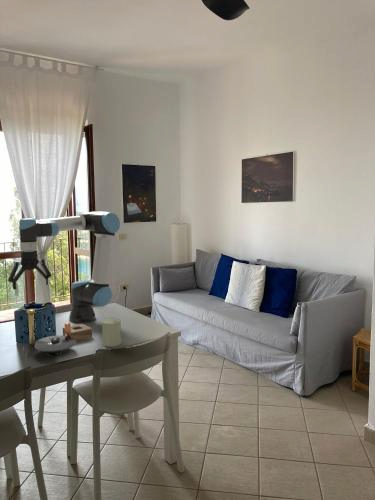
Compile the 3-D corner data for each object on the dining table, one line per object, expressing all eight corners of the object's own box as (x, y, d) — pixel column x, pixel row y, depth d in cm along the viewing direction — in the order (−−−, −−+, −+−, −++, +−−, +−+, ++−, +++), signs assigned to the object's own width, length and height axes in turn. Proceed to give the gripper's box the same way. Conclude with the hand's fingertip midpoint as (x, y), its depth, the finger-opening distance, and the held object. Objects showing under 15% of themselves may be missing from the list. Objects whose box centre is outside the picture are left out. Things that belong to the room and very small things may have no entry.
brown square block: (62, 336, 212) (62, 327, 211) (82, 332, 219) (82, 323, 218) (72, 342, 204) (72, 332, 203) (92, 337, 211) (92, 328, 210)
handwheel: (49, 355, 178) (48, 336, 177) (27, 345, 189) (26, 328, 188) (83, 343, 192) (82, 326, 191) (60, 335, 203) (59, 319, 202)
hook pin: (26, 343, 202) (25, 309, 200) (35, 341, 205) (34, 308, 203) (30, 345, 199) (28, 311, 197) (39, 343, 202) (37, 310, 200)
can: (112, 347, 197) (111, 323, 195) (98, 344, 202) (97, 320, 200) (124, 342, 204) (124, 319, 203) (111, 339, 209) (110, 316, 208)
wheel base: (46, 351, 191) (46, 345, 191) (59, 348, 195) (58, 342, 195) (52, 355, 187) (51, 348, 187) (64, 352, 191) (64, 345, 191)
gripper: (4, 253, 185) (7, 299, 188) (57, 249, 202) (58, 291, 204) (-1, 252, 191) (1, 296, 194) (50, 247, 207) (52, 288, 210)
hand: (31, 293), depth 199 cm, fingers open, 13 cm apart
